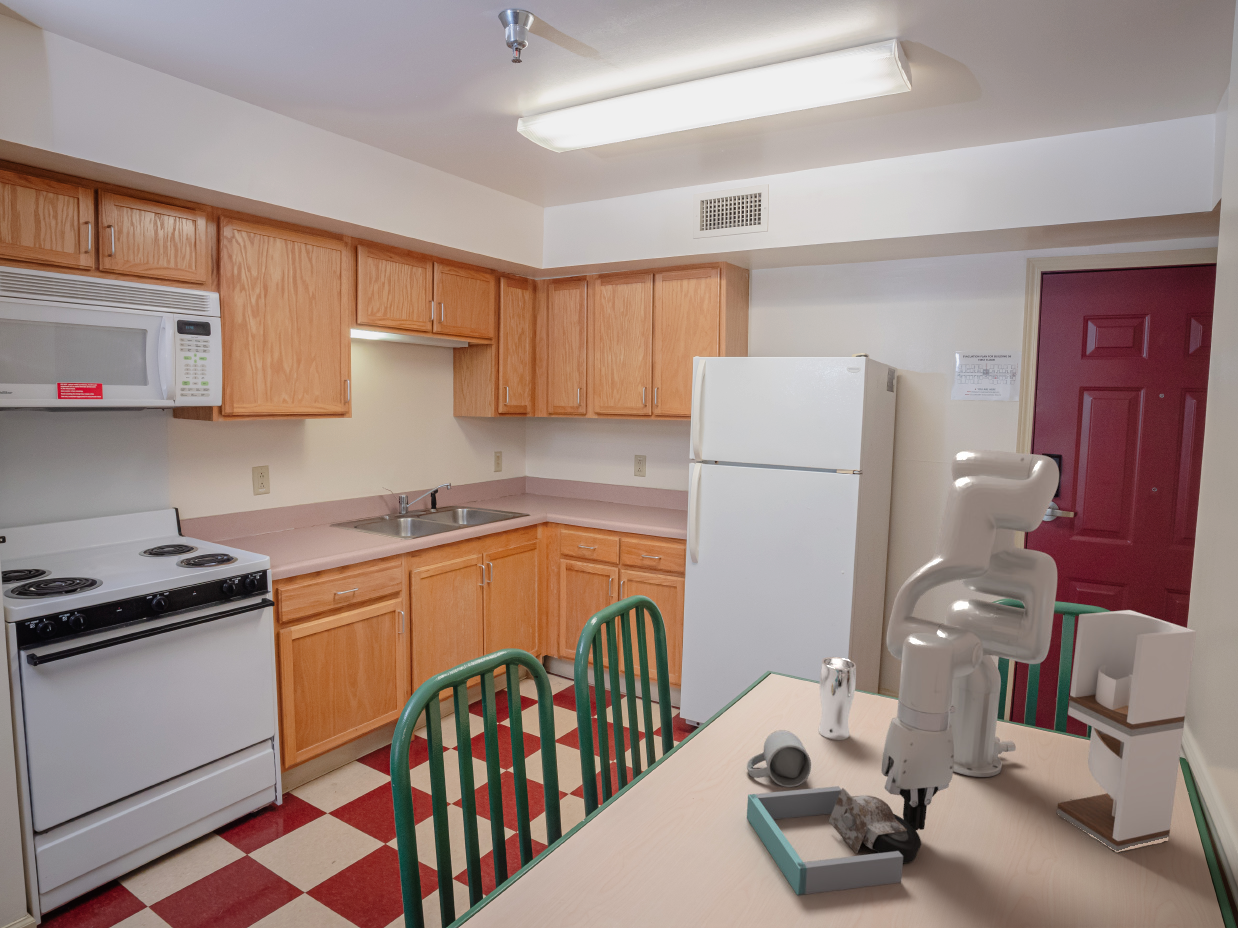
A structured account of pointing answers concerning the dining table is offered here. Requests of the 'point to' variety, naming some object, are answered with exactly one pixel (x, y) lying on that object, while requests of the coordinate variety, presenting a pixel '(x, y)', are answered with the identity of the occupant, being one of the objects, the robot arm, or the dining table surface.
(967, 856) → the dining table surface
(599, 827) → the dining table surface
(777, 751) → the ceramic mug
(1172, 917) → the dining table surface
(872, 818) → the caster wheel
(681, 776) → the dining table surface
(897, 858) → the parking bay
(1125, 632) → the white shelf stand
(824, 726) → the beer glass
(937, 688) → the robot arm
